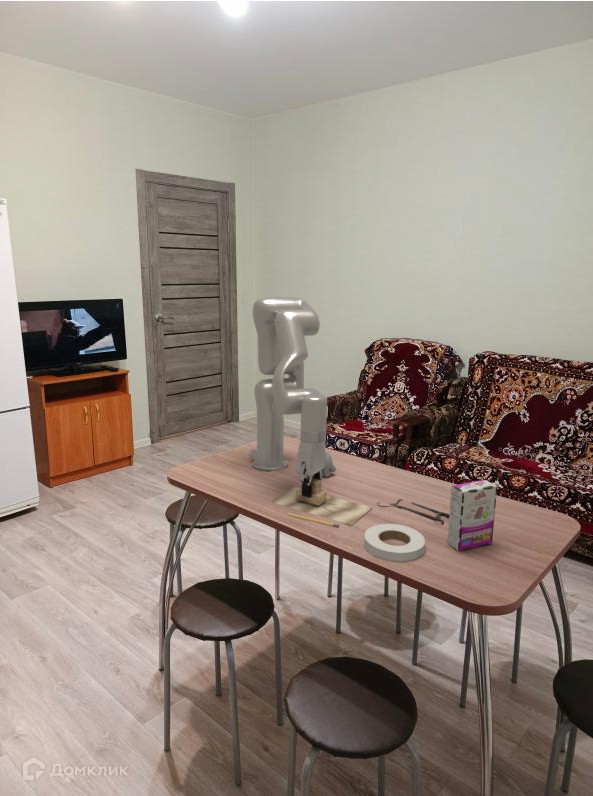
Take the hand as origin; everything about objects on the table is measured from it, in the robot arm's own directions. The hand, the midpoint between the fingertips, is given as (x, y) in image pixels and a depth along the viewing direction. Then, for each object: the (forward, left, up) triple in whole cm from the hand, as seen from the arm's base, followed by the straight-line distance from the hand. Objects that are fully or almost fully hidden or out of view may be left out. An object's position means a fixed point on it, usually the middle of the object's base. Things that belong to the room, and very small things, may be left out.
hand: (311, 492), depth 165 cm
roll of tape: (+31, -11, -4) cm, 33 cm away
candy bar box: (+47, +1, -4) cm, 47 cm away
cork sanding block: (0, 0, -2) cm, 2 cm away
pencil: (+6, -11, -3) cm, 13 cm away
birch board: (+3, 0, -3) cm, 5 cm away
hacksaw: (+29, +12, -4) cm, 32 cm away
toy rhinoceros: (-9, +20, -4) cm, 22 cm away
